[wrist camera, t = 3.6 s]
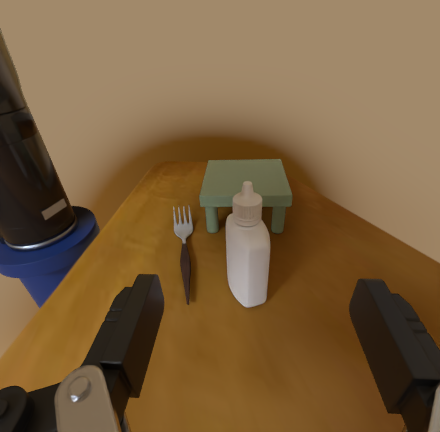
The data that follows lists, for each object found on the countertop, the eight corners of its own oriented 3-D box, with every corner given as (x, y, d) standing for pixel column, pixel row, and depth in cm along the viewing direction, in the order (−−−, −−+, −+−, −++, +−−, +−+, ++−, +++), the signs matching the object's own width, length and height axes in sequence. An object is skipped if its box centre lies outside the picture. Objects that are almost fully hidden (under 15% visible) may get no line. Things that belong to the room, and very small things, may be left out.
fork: (175, 310, 25) (172, 296, 24) (174, 218, 38) (172, 206, 37) (201, 305, 26) (200, 292, 25) (191, 215, 39) (190, 204, 38)
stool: (203, 235, 35) (199, 195, 31) (210, 194, 44) (208, 160, 40) (287, 235, 34) (292, 195, 31) (277, 193, 43) (280, 158, 40)
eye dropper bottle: (268, 269, 29) (277, 169, 22) (265, 312, 25) (274, 203, 18) (229, 264, 30) (226, 167, 23) (219, 305, 26) (212, 199, 19)
